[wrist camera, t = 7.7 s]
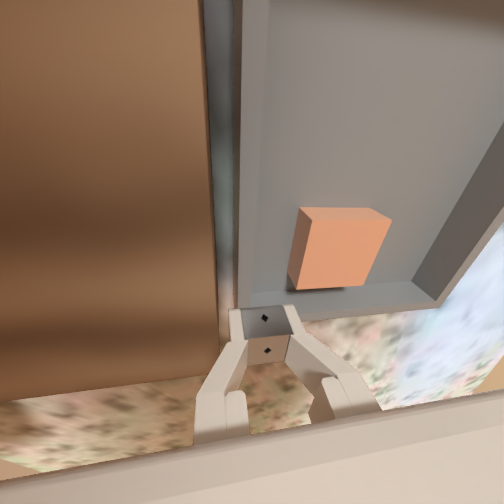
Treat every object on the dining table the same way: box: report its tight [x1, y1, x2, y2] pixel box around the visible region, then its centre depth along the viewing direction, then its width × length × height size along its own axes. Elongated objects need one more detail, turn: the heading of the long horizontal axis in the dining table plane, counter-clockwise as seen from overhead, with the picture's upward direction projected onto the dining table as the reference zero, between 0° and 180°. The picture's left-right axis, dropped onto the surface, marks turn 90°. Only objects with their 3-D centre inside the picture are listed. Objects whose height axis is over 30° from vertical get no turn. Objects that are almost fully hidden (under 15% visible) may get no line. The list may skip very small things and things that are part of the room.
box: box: [233, 0, 504, 322], centre depth 14 cm, size 24×20×4 cm
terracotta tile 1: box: [287, 207, 392, 290], centre depth 17 cm, size 6×6×2 cm
